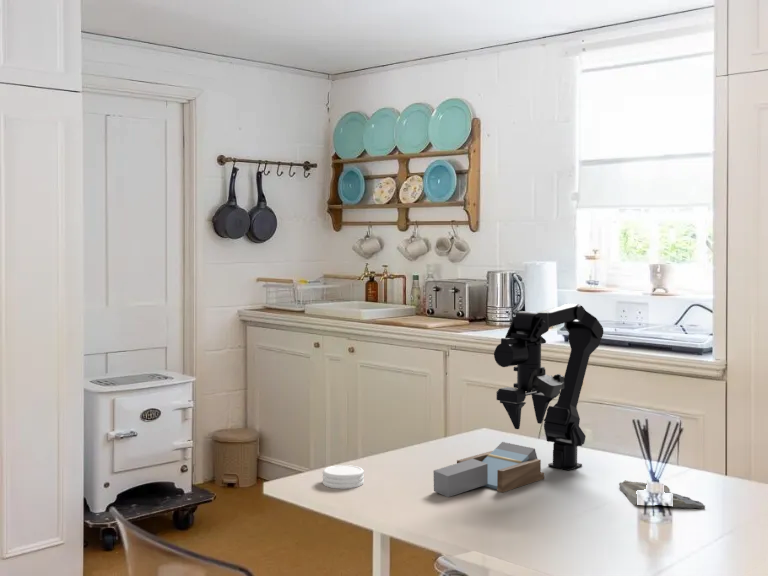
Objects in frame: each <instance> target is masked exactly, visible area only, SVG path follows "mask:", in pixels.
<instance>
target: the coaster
mask: <svg viewBox="0 0 768 576" xmlns="http://www.w3.org/2000/svg"><path fill="white" fill-rule="evenodd" d="M364 473H365V470H364V469H363V468H362V467H360V466H356V465H350V464H337V465H332V466H327V467H325V468H324V469H322V477H321V478H322V485H324V486H325V487H327V488H332V489H338V490H344V489H345V490H348V489H355V488H358V487H361V486H362V485H364V483H365V480H364V478H365V476H364Z"/></svg>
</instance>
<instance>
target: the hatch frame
mask: <svg viewBox="0 0 768 576" xmlns="http://www.w3.org/2000/svg"><path fill="white" fill-rule="evenodd" d="M492 451H493V450H490V451H486V452H482V453H479V454H475V455H472V456H468V457H465V458H461V459H457V460H456V464H457V463H460V462H463V461H467V460H470V459H475V460H478V461H481V462H482V461H483V460H484V459H485V458H486V457H487V456H488V454H490V453H491V452H492ZM541 462H542V461H541V459H539V458H538V459H533V460H530V461H526V462H523V463H520V464H516V465H513V466H509V467H506V468H503V469H499V470H498V472H497V489H496V490H497V492H499V493H504V492H508V491H511V490H513V489H517V488H520V487H523V486H526V485H529V484H532V483H535V482H538V481H541V480H544V479H545V472H543V471H542V469H541V468H542V467H541V464H542V463H541Z"/></svg>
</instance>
